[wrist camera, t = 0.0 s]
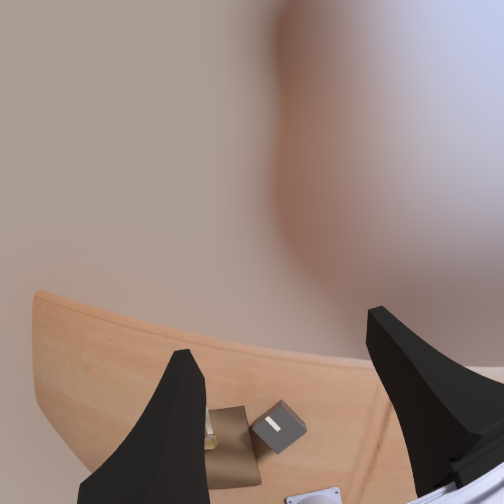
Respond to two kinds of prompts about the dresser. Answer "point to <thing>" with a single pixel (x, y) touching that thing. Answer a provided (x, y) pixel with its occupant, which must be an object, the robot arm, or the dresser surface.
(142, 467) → the robot arm
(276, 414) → the mini file drawer
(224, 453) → the board
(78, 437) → the dresser surface
